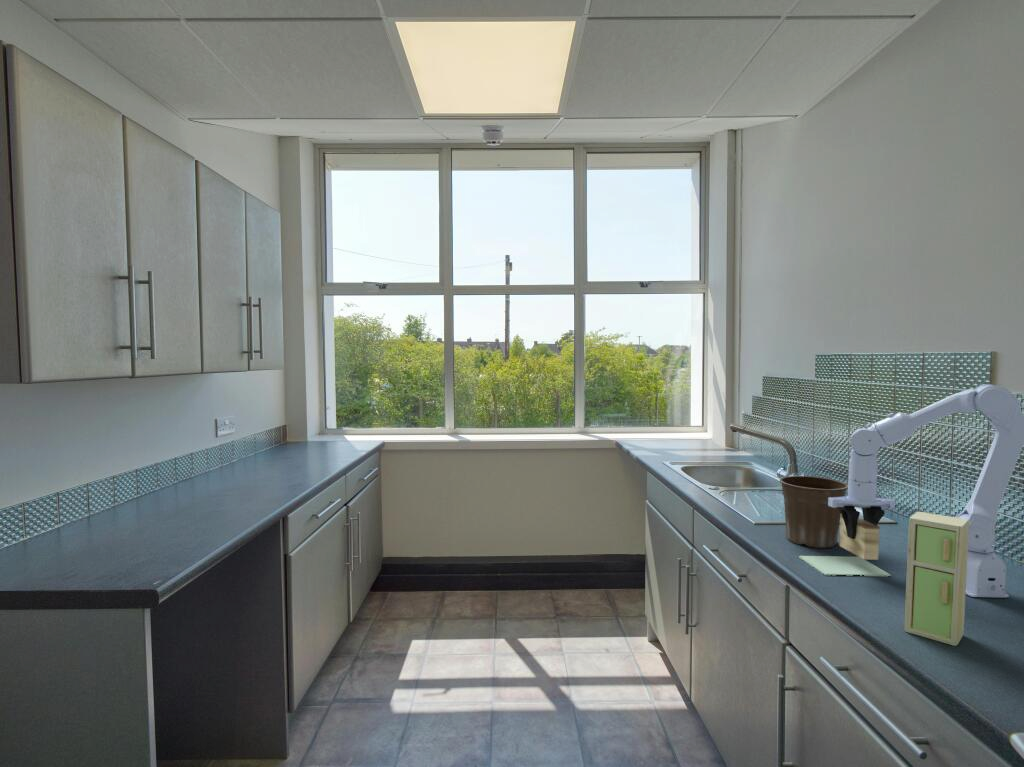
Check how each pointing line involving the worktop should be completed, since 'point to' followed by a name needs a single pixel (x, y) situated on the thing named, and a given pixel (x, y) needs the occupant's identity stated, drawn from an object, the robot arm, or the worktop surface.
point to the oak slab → (861, 539)
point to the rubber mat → (843, 566)
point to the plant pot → (811, 510)
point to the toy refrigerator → (936, 577)
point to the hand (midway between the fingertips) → (859, 537)
